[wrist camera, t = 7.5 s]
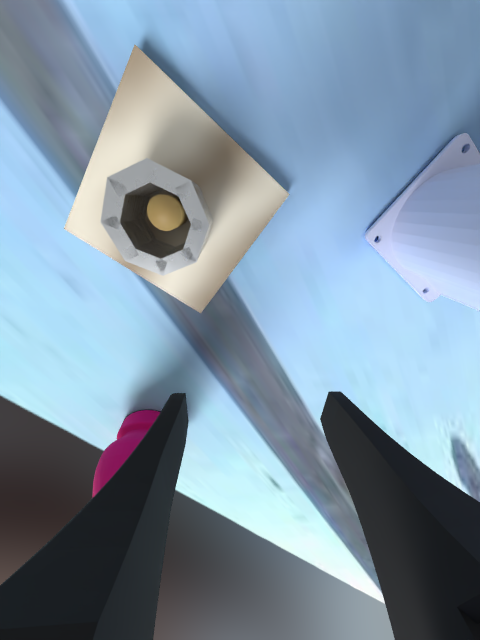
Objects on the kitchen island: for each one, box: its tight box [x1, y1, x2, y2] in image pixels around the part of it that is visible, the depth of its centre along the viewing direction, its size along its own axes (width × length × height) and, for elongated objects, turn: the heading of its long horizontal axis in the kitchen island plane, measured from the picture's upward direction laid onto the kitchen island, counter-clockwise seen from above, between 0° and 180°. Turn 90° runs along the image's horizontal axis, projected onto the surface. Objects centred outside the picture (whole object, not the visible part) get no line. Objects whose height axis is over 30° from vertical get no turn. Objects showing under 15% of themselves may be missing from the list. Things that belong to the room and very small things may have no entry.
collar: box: [101, 158, 213, 276], centre depth 13 cm, size 5×5×4 cm
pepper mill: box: [93, 410, 160, 497], centre depth 17 cm, size 7×7×20 cm
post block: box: [64, 45, 289, 313], centre depth 14 cm, size 11×11×4 cm
